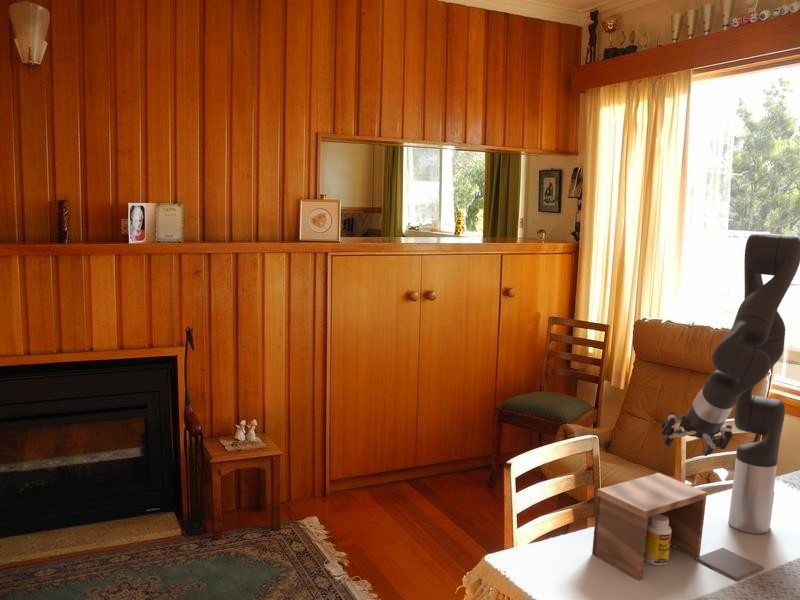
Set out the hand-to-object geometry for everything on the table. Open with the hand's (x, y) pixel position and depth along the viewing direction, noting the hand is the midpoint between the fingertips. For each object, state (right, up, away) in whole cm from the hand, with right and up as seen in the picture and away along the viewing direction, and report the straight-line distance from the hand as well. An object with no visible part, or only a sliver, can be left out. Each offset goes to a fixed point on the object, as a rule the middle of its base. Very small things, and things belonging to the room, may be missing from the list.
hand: (685, 448), depth 176 cm
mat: (+7, -25, -6) cm, 27 cm away
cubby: (-11, -24, -4) cm, 26 cm away
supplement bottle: (-9, -24, -6) cm, 27 cm away
